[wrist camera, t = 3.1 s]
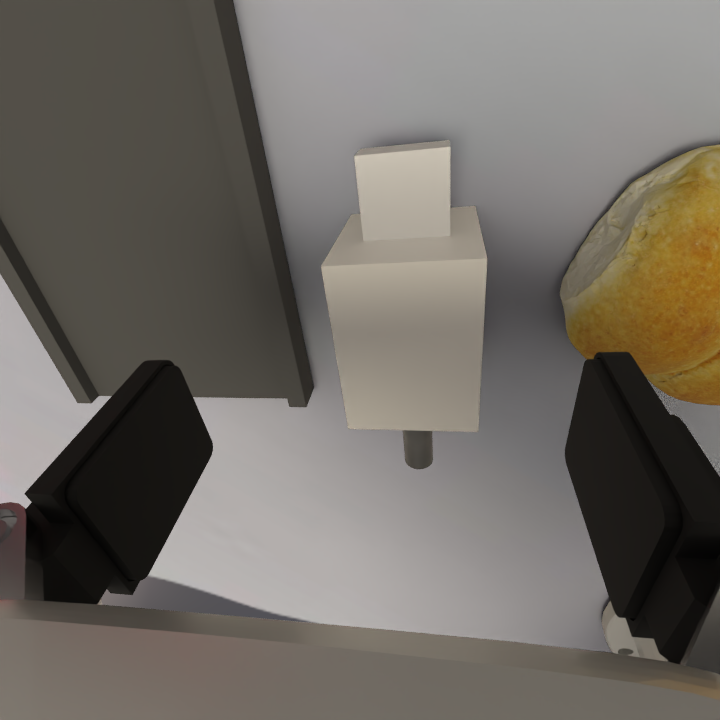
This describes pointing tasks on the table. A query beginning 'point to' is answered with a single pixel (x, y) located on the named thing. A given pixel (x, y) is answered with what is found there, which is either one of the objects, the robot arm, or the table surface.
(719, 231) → the bread roll
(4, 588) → the robot arm
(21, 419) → the table surface
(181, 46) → the dark grey flat tray
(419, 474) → the table surface
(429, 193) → the plug
